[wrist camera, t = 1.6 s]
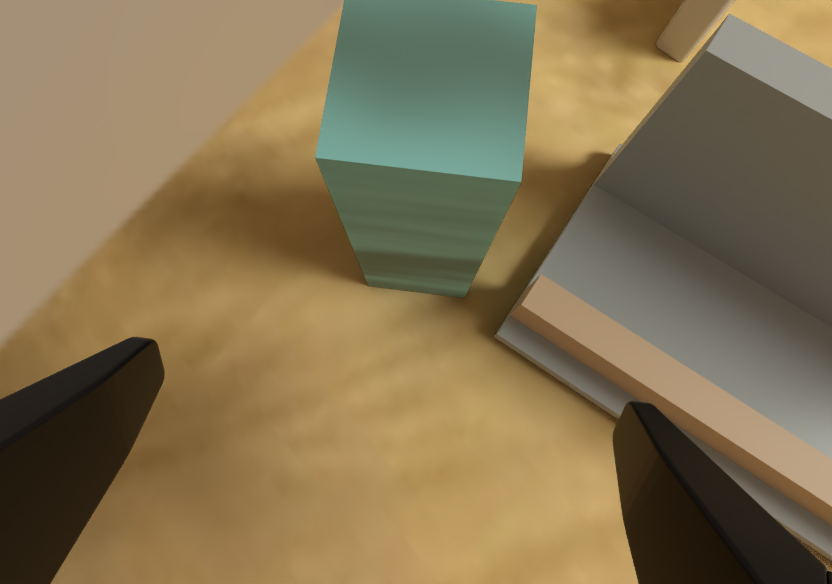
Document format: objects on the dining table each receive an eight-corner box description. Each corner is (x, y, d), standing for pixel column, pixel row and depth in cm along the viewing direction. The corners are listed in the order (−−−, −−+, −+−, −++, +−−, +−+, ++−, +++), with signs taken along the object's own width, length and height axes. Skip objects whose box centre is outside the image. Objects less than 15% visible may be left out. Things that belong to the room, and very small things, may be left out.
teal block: (464, 298, 23) (521, 181, 11) (368, 286, 23) (314, 157, 11) (474, 207, 24) (536, 5, 12) (382, 196, 24) (347, -16, 12)
